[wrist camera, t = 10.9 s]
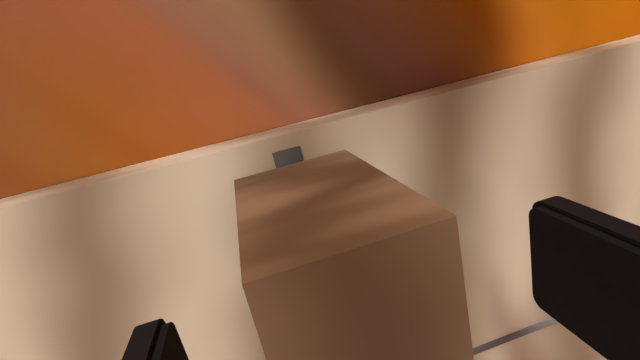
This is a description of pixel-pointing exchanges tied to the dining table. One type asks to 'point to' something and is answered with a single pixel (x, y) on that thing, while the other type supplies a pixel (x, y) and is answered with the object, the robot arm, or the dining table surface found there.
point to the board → (310, 142)
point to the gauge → (350, 265)
